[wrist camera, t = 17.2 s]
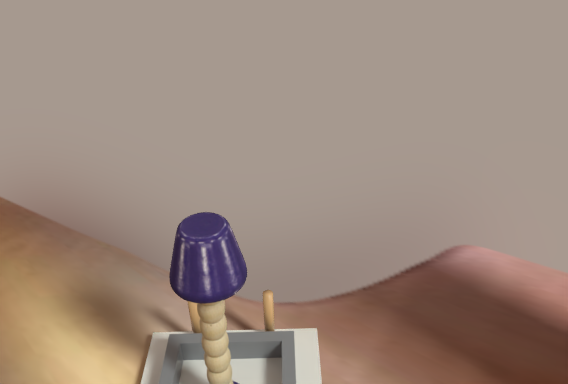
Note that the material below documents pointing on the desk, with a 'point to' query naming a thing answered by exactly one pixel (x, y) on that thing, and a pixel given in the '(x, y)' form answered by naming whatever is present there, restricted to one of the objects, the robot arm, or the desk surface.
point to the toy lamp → (209, 283)
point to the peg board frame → (237, 354)
